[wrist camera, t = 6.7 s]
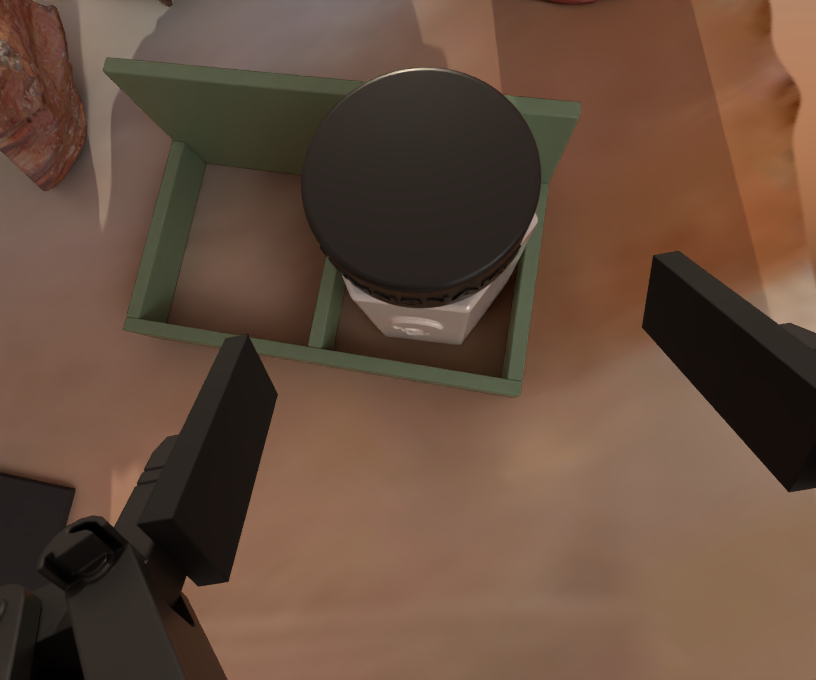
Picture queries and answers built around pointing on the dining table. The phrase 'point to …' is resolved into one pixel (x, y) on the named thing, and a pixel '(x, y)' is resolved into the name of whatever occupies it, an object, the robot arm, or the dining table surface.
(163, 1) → the jug
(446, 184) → the jar
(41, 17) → the stone
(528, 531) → the dining table surface
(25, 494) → the mat
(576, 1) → the flower pot
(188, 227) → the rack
